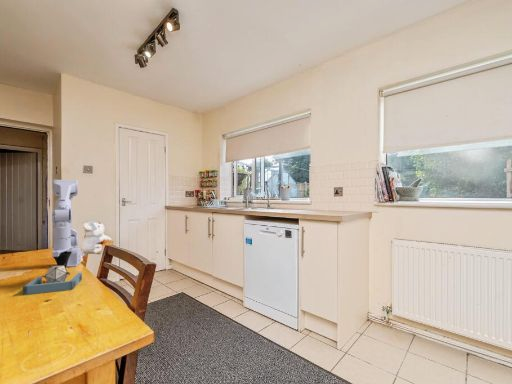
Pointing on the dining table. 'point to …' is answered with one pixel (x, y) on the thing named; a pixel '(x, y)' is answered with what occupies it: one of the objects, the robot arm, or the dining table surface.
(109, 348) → the dining table surface
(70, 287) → the chassis
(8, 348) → the dining table surface
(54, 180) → the robot arm
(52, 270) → the game die
